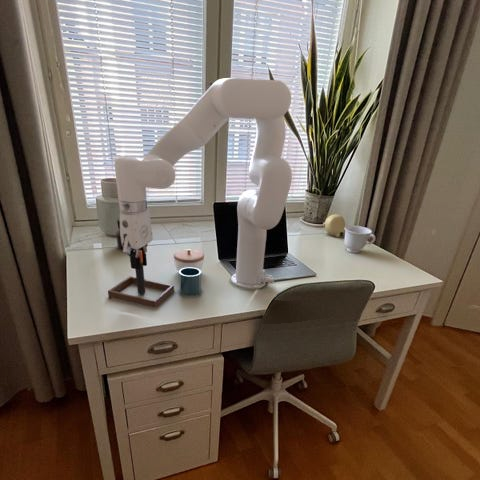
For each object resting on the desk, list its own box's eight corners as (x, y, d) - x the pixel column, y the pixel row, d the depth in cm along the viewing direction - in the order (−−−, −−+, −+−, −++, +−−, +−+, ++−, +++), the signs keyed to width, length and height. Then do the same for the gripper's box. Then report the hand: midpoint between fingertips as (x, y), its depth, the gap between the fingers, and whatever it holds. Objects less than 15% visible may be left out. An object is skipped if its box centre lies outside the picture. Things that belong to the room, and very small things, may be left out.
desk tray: (174, 292, 115) (173, 285, 114) (155, 309, 105) (155, 301, 104) (130, 283, 119) (129, 276, 118) (108, 298, 109) (107, 291, 108)
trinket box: (206, 279, 125) (206, 254, 120) (176, 281, 122) (175, 256, 117) (200, 267, 134) (200, 243, 129) (172, 269, 131) (171, 245, 126)
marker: (147, 291, 112) (143, 250, 105) (142, 294, 110) (139, 253, 103) (140, 290, 113) (136, 249, 105) (136, 293, 111) (131, 251, 103)
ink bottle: (143, 249, 146) (140, 221, 139) (122, 253, 141) (118, 224, 135) (135, 242, 152) (132, 215, 146) (114, 245, 148) (111, 217, 141)
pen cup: (204, 289, 118) (204, 269, 114) (195, 298, 112) (195, 277, 108) (185, 286, 120) (184, 265, 116) (176, 294, 114) (175, 273, 110)
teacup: (362, 259, 151) (368, 237, 146) (334, 249, 161) (339, 227, 155) (377, 254, 158) (383, 232, 153) (349, 244, 168) (354, 223, 162)
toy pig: (330, 244, 177) (348, 234, 170) (317, 224, 175) (336, 212, 168) (335, 238, 184) (352, 228, 177) (323, 219, 182) (341, 208, 175)
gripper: (128, 214, 90) (135, 279, 99) (159, 201, 103) (162, 260, 112) (103, 210, 91) (112, 274, 101) (137, 198, 104) (142, 256, 114)
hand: (139, 266), depth 107 cm, fingers closed on marker, 2 cm apart
